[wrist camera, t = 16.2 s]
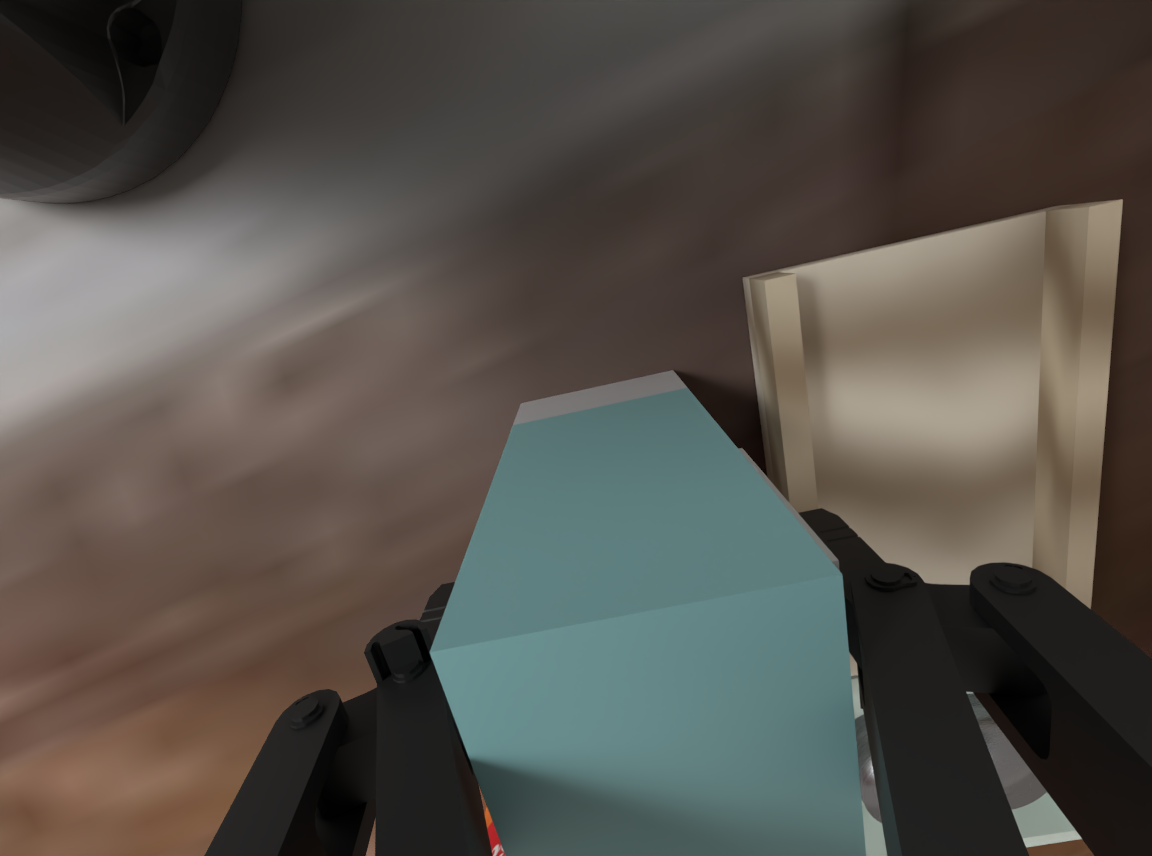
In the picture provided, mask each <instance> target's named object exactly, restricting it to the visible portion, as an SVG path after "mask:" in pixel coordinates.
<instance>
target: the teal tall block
mask: <svg viewBox="0 0 1152 856" xmlns="http://www.w3.org/2000/svg"><path fill="white" fill-rule="evenodd" d="M430 655H431V658H432V660H433V663H434V666H435V668H436V671H437V674H438V676H439V679H440V682H441V684H442V687H443V690H444V692H445V695H446V698H447V700H448V703H449V706H450V709H451V711H452V714H453V717H454V719H455V722H456V725H457V727H458V730H459V733H460V735H461V738H462V741H463V743H464V746H465V749H466V751H467V754H468V757H469V759H470V762H471V765H472V767H473V770H474V773H475V775H476V778H477V781H478V784H479V786H480V789H481V792H482V794H483V797H484V800H485V802H486V805H487V808H488V810H489V813H490V816H491V818H492V821H493V824H494V826H495V829H496V832H497V834H498V837H499V840H500V842H501V845H502V848H503V850H504V853H505V856H866V848H865V836H864V824H863V812H862V800H861V788H860V777H859V765H858V753H857V741H856V729H855V717H854V706H853V694H852V682H851V670H850V658H849V647H848V635H847V623H846V611H845V599H844V587H843V576H842V573H841V572H840V571H839V570H838V569H837V567H836V566H835V565H834V564H833V563H832V561H831V560H830V559H829V558H828V557H827V555H826V554H825V553H824V552H823V550H822V549H821V548H820V547H819V546H818V544H817V543H816V542H815V541H814V540H813V538H812V537H811V536H810V535H809V534H808V532H807V531H806V530H805V529H804V528H803V526H802V525H801V524H800V523H799V522H798V520H797V519H796V518H795V517H794V515H793V514H792V513H791V512H790V511H789V509H788V508H787V507H786V506H785V505H784V503H783V502H782V501H781V500H780V499H779V497H778V496H777V495H776V494H775V493H774V491H773V490H772V489H771V488H770V487H769V485H768V484H767V483H766V482H765V480H764V479H763V478H762V477H761V476H760V474H759V473H758V472H757V471H756V470H755V468H754V467H753V466H752V465H751V464H750V462H749V461H748V460H747V459H746V458H745V456H744V455H743V454H742V453H741V452H740V450H739V449H738V448H737V447H736V445H735V444H734V443H733V442H732V441H731V439H730V438H729V437H728V436H727V435H726V433H725V432H724V431H723V430H722V429H721V427H720V426H719V425H718V424H717V423H716V421H715V420H714V419H713V418H712V417H711V415H710V414H709V413H708V412H707V410H706V409H705V408H704V407H703V406H702V404H701V403H700V402H699V401H698V400H697V398H696V397H695V396H694V395H693V394H692V392H691V391H690V390H689V389H688V388H687V386H686V385H685V384H684V383H683V382H682V380H681V379H680V378H679V377H678V375H677V374H676V373H675V372H674V371H673V370H671V371H667V372H662V373H658V374H653V375H648V376H644V377H639V378H635V379H630V380H626V381H621V382H616V383H612V384H607V385H603V386H598V387H594V388H589V389H584V390H580V391H575V392H571V393H566V394H562V395H557V396H552V397H548V398H543V399H539V400H534V401H530V402H525V403H521V405H520V407H519V410H518V413H517V416H516V418H515V421H514V424H513V426H512V429H511V432H510V435H509V437H508V440H507V443H506V446H505V448H504V451H503V454H502V456H501V459H500V462H499V465H498V467H497V470H496V473H495V475H494V478H493V481H492V484H491V486H490V489H489V492H488V495H487V497H486V500H485V503H484V505H483V508H482V511H481V514H480V516H479V519H478V522H477V524H476V527H475V530H474V533H473V535H472V538H471V541H470V544H469V546H468V549H467V552H466V554H465V557H464V560H463V563H462V565H461V568H460V571H459V573H458V576H457V579H456V582H455V584H454V587H453V590H452V593H451V595H450V598H449V601H448V603H447V606H446V609H445V612H444V614H443V617H442V620H441V622H440V625H439V628H438V631H437V633H436V636H435V639H434V641H433V644H432V647H431V650H430Z"/></svg>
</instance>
